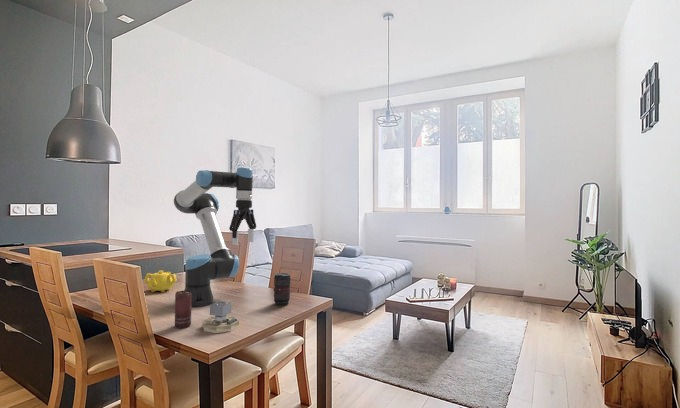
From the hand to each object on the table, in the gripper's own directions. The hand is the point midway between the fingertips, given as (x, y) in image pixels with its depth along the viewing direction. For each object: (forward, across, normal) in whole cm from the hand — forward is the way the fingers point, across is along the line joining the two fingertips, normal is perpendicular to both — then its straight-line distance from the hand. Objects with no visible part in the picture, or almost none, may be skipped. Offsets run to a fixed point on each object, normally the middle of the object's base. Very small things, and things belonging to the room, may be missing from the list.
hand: (243, 243), depth 175 cm
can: (+31, -32, +8) cm, 45 cm away
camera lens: (+31, +11, -16) cm, 36 cm away
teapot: (+31, +10, +58) cm, 67 cm away
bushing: (+30, -27, -7) cm, 41 cm away
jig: (+31, -27, -7) cm, 41 cm away
